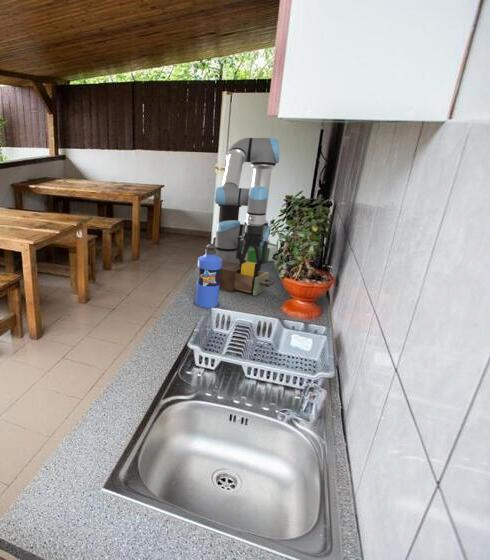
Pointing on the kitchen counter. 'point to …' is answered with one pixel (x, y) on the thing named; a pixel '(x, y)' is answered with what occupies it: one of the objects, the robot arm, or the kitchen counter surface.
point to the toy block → (248, 268)
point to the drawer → (252, 282)
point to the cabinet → (228, 275)
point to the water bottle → (208, 278)
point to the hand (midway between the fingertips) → (248, 276)
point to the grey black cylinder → (228, 214)
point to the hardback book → (270, 251)
